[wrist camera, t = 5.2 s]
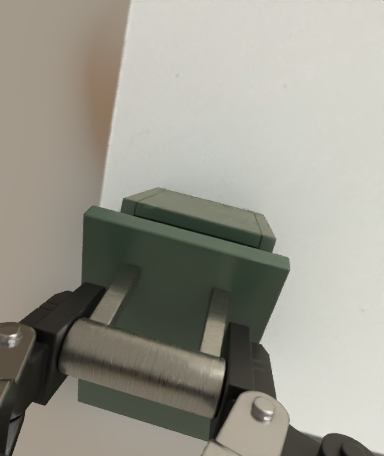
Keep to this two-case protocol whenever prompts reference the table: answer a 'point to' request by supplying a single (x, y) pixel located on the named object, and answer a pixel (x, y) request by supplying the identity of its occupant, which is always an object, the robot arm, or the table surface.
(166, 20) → the table surface
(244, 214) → the green storage bin
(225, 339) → the robot arm
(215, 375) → the bin lid
